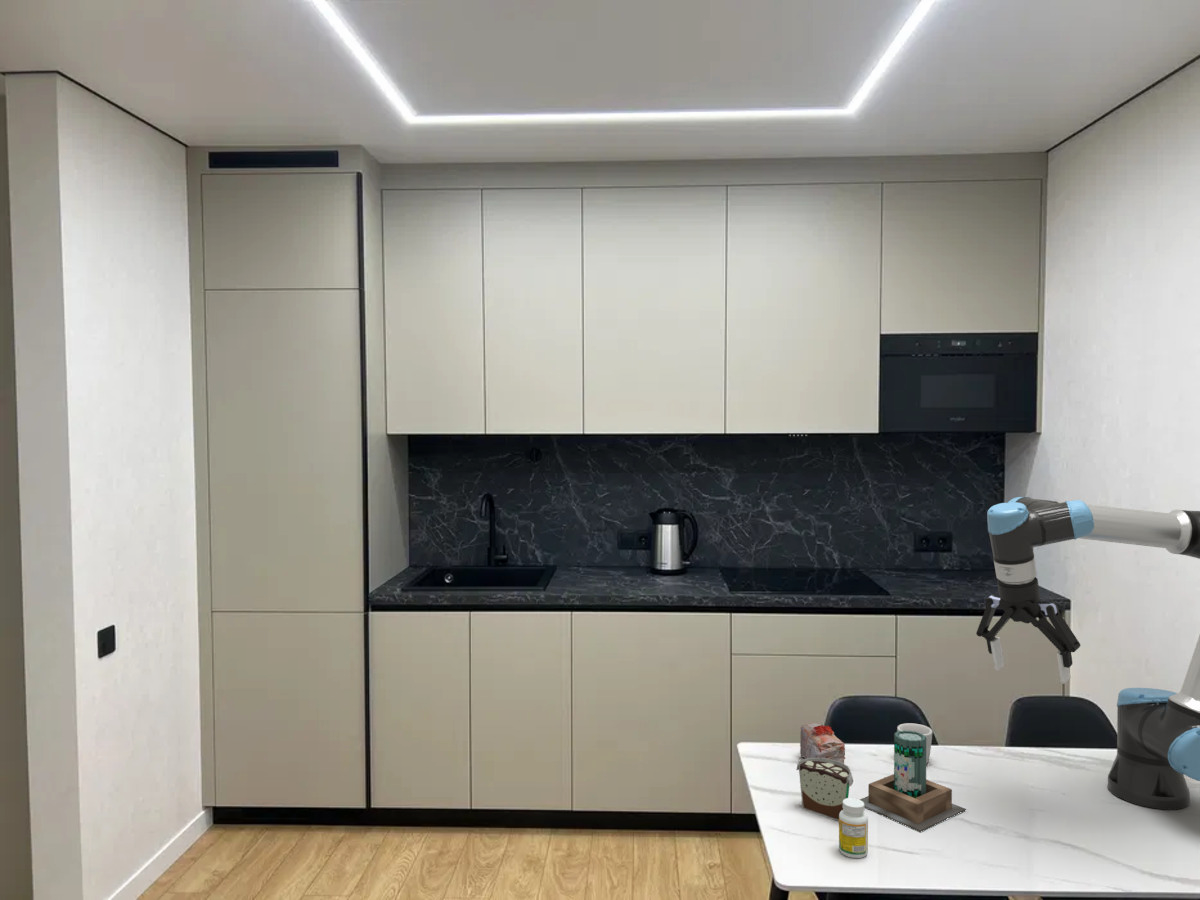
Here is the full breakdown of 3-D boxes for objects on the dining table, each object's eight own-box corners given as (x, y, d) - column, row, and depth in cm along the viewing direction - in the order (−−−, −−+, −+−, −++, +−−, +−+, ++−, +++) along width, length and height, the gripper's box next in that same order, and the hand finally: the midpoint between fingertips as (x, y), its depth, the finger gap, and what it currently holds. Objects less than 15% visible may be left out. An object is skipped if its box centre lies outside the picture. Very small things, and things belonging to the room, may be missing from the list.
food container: (863, 814, 178) (863, 767, 177) (850, 825, 173) (850, 776, 173) (810, 797, 186) (810, 752, 186) (796, 806, 181) (796, 760, 181)
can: (888, 804, 181) (889, 734, 181) (905, 796, 185) (905, 728, 184) (914, 814, 176) (914, 743, 176) (930, 806, 180) (931, 736, 180)
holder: (965, 810, 179) (966, 790, 179) (920, 832, 170) (920, 810, 170) (900, 784, 192) (900, 765, 192) (854, 803, 183) (854, 783, 183)
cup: (937, 774, 197) (937, 740, 197) (901, 771, 199) (901, 738, 199) (929, 756, 208) (929, 724, 208) (895, 753, 210) (895, 721, 209)
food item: (849, 777, 196) (850, 735, 196) (817, 779, 195) (817, 737, 195) (825, 754, 210) (825, 715, 209) (794, 756, 209) (794, 717, 208)
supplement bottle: (860, 862, 159) (860, 811, 158) (833, 852, 162) (833, 803, 162) (872, 850, 163) (872, 801, 162) (846, 842, 166) (846, 793, 166)
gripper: (950, 578, 181) (965, 669, 184) (1072, 592, 161) (1087, 694, 164) (968, 565, 185) (982, 655, 189) (1089, 578, 165) (1103, 678, 169)
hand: (1031, 674), depth 176 cm, fingers open, 13 cm apart
